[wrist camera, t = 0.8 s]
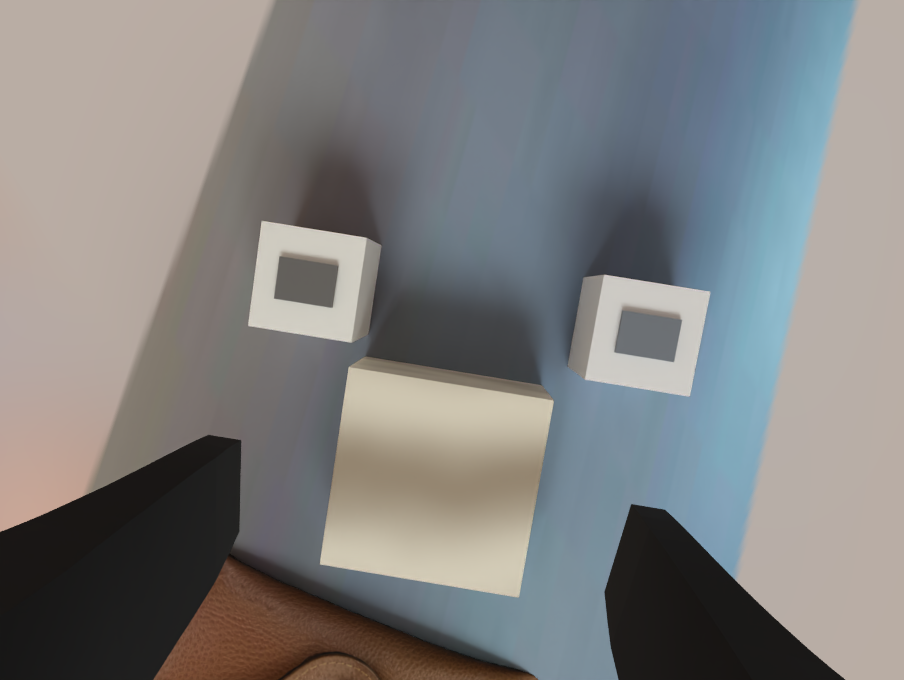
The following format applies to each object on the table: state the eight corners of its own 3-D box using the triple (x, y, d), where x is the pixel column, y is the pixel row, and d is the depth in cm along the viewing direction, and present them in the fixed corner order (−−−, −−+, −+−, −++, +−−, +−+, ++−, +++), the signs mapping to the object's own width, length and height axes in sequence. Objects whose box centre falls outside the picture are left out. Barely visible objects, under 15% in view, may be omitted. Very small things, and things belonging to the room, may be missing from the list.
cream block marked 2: (368, 334, 26) (350, 342, 22) (280, 320, 26) (246, 325, 22) (381, 245, 26) (366, 237, 22) (292, 231, 26) (260, 220, 22)
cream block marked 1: (655, 381, 26) (691, 397, 22) (567, 366, 26) (586, 380, 22) (673, 292, 26) (712, 291, 22) (583, 277, 26) (605, 274, 22)
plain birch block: (511, 552, 27) (518, 597, 23) (341, 524, 27) (319, 564, 23) (540, 384, 27) (553, 400, 23) (366, 355, 27) (348, 367, 23)
